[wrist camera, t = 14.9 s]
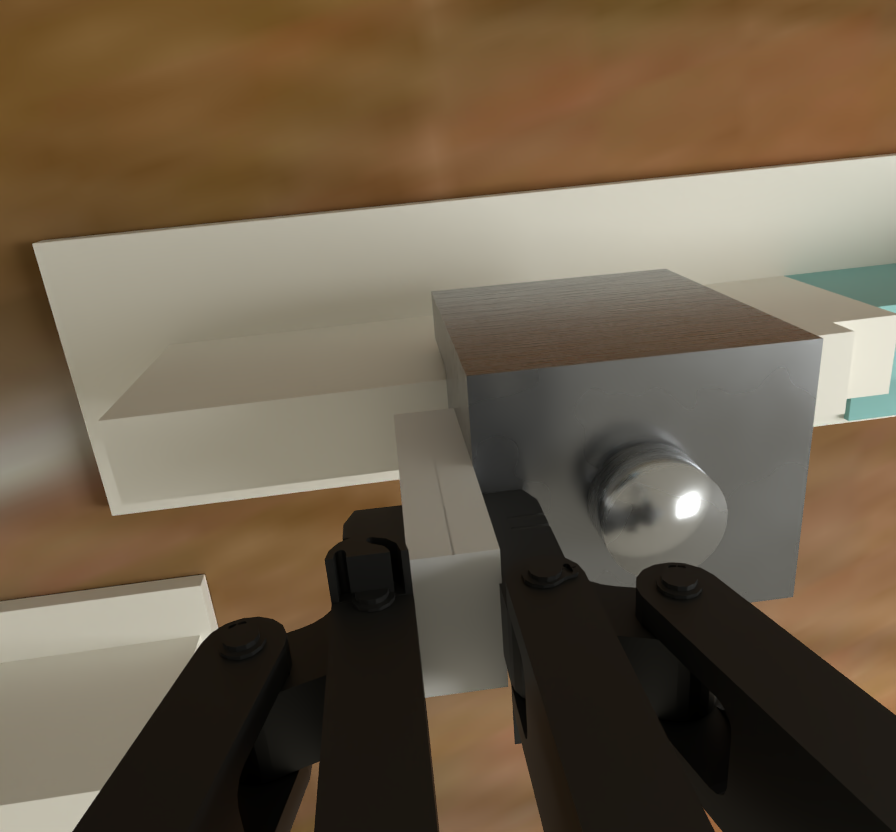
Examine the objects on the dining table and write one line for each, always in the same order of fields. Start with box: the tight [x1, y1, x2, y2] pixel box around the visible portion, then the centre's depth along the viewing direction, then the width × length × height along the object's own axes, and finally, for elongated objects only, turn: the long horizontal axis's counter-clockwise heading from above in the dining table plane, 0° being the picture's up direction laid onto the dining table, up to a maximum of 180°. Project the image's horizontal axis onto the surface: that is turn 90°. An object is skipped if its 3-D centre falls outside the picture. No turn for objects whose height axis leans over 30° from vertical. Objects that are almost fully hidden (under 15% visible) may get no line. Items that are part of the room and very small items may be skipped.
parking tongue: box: [0, 574, 218, 832], centre depth 26 cm, size 7×10×8 cm
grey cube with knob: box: [431, 269, 823, 602], centre depth 18 cm, size 6×7×9 cm
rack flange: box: [32, 153, 896, 516], centre depth 22 cm, size 10×37×10 cm, turn 95°
